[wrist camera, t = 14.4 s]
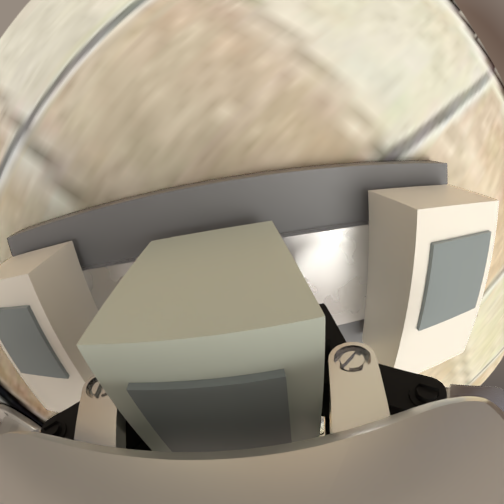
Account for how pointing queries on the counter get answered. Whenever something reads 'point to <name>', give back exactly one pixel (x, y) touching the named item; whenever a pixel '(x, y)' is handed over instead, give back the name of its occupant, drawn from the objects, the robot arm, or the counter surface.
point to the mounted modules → (377, 298)
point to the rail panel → (242, 213)
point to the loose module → (212, 343)
